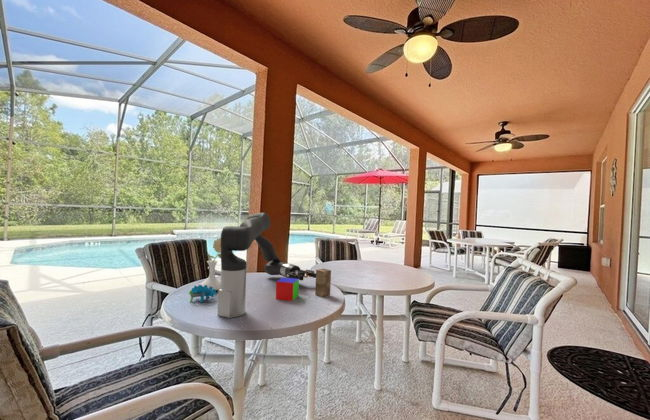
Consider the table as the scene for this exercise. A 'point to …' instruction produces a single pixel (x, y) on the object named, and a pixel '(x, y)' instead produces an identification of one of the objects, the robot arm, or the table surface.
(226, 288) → the robot arm
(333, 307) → the table surface
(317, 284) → the pillar
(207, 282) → the flower in vase
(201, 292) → the blue toy dinosaur
